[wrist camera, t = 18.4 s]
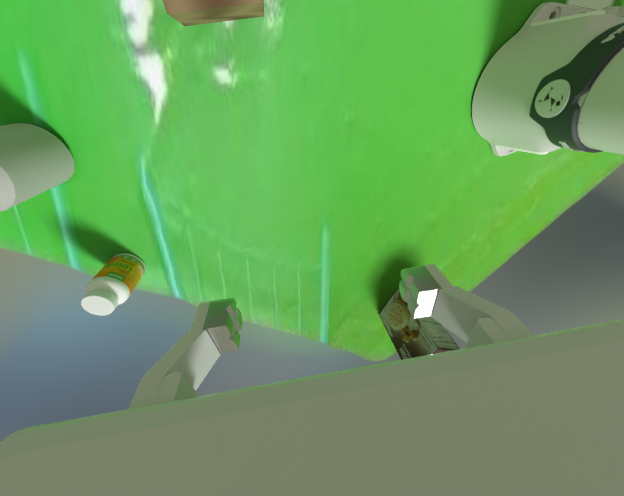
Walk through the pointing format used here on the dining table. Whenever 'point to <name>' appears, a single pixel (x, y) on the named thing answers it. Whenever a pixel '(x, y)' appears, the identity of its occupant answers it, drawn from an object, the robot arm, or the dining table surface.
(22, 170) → the can
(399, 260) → the dining table surface
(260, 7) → the walnut block
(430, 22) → the dining table surface
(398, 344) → the coffee box
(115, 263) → the supplement bottle
